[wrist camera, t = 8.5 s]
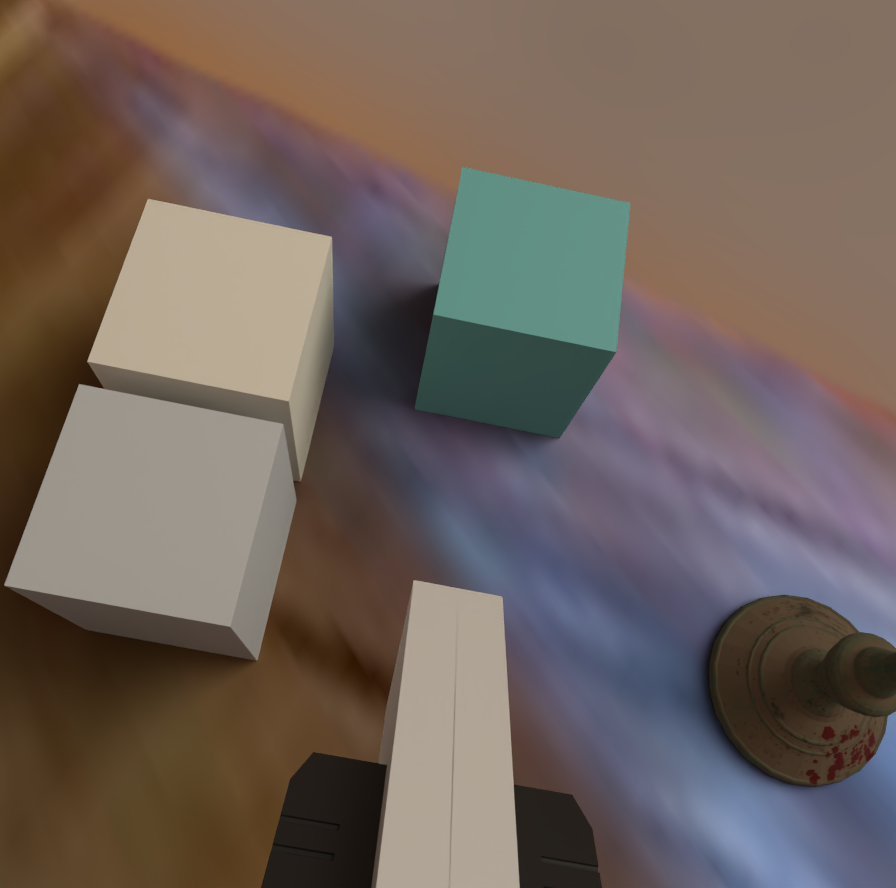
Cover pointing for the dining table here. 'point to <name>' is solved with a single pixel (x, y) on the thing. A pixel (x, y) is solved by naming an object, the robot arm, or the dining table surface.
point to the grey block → (160, 523)
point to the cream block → (222, 319)
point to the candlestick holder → (801, 689)
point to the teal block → (524, 303)
